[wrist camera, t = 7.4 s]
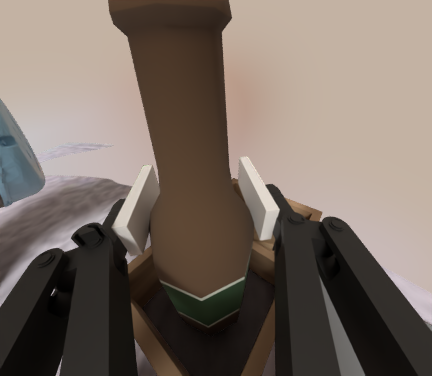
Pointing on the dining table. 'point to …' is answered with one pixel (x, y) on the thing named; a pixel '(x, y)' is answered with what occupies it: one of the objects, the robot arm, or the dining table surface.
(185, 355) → the dining table surface
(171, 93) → the beer bottle
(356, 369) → the plate
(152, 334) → the wooden box
